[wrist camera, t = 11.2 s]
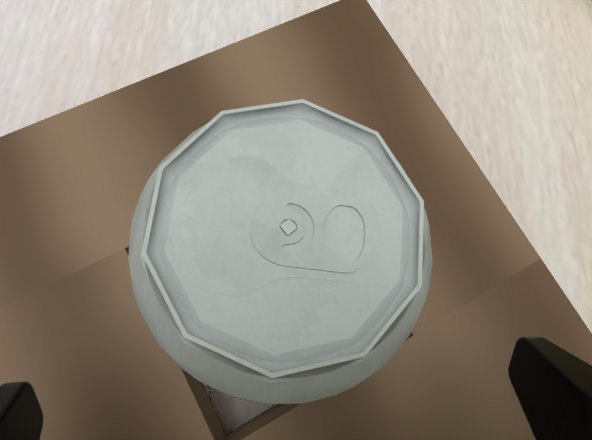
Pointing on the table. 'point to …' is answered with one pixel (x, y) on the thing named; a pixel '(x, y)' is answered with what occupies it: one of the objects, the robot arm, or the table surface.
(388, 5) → the table surface
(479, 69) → the table surface
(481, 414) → the holder block
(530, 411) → the robot arm
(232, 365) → the beer can
